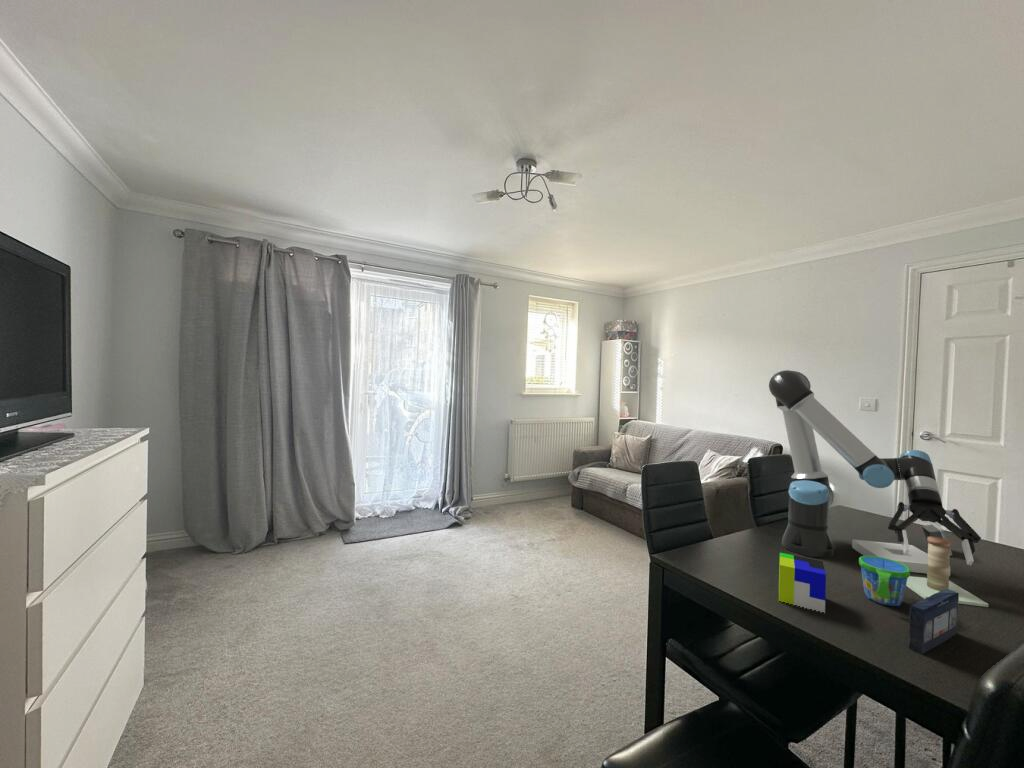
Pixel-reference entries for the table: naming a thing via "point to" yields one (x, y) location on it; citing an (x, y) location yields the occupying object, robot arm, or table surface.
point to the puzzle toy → (802, 582)
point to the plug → (938, 563)
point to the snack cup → (884, 579)
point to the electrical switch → (934, 532)
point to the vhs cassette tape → (933, 620)
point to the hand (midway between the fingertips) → (937, 557)
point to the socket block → (894, 554)
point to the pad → (924, 591)
